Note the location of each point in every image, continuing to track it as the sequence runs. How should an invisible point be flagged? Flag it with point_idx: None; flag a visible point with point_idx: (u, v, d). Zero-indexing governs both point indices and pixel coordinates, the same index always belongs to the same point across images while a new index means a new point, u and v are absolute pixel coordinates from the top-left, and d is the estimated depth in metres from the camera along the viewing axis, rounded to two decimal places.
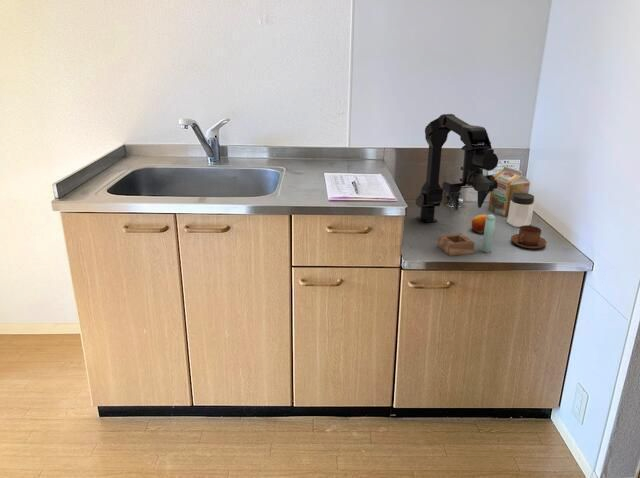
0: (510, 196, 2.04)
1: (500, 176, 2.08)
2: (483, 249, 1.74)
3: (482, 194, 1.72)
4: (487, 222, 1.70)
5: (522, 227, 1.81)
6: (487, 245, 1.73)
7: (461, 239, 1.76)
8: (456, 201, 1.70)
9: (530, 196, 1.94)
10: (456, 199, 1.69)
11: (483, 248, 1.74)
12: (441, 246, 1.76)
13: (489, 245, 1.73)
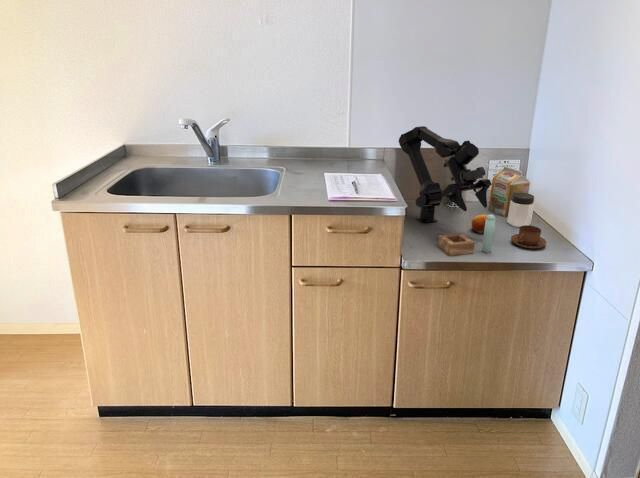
0: (510, 196, 2.04)
1: (500, 176, 2.08)
2: (483, 249, 1.74)
3: (482, 194, 1.79)
4: (487, 222, 1.70)
5: (522, 227, 1.81)
6: (487, 245, 1.73)
7: (461, 239, 1.76)
8: (461, 201, 1.74)
9: (530, 196, 1.94)
10: (460, 198, 1.74)
11: (483, 248, 1.74)
12: (441, 246, 1.76)
13: (489, 245, 1.73)
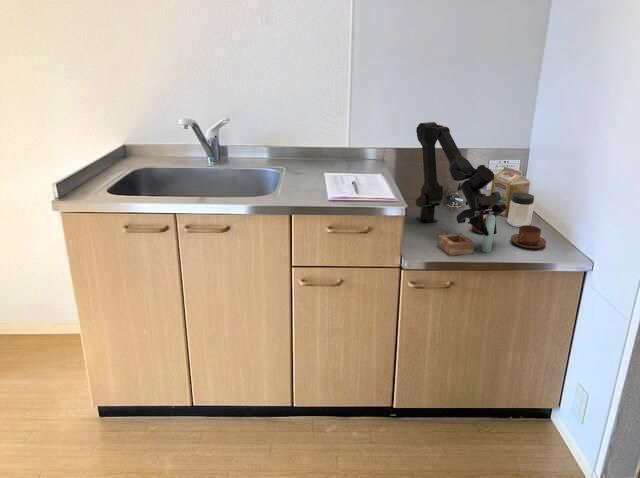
0: (510, 196, 2.04)
1: (500, 176, 2.08)
2: (483, 249, 1.74)
3: None
4: (487, 222, 1.70)
5: (521, 227, 1.82)
6: (487, 245, 1.73)
7: (461, 239, 1.76)
8: (483, 225, 1.71)
9: (530, 196, 1.94)
10: (482, 223, 1.71)
11: (483, 248, 1.74)
12: (441, 246, 1.76)
13: (489, 245, 1.73)
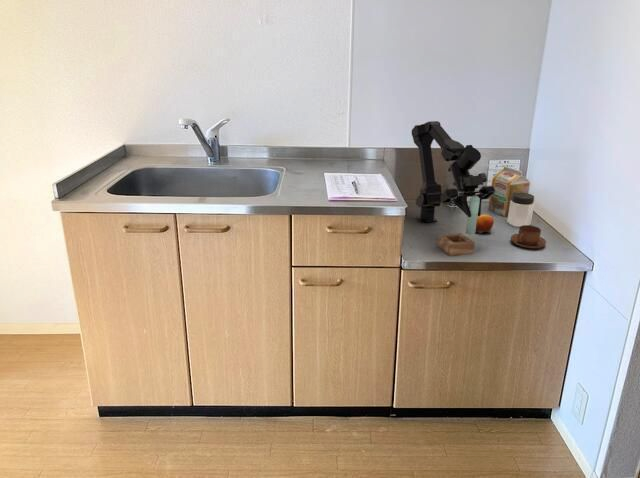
0: (510, 196, 2.04)
1: (500, 176, 2.08)
2: (466, 231, 1.72)
3: None
4: (470, 203, 1.68)
5: (521, 227, 1.82)
6: (470, 227, 1.71)
7: (461, 239, 1.76)
8: (466, 206, 1.69)
9: (530, 196, 1.94)
10: (465, 204, 1.69)
11: (466, 230, 1.72)
12: (441, 246, 1.76)
13: (472, 227, 1.71)
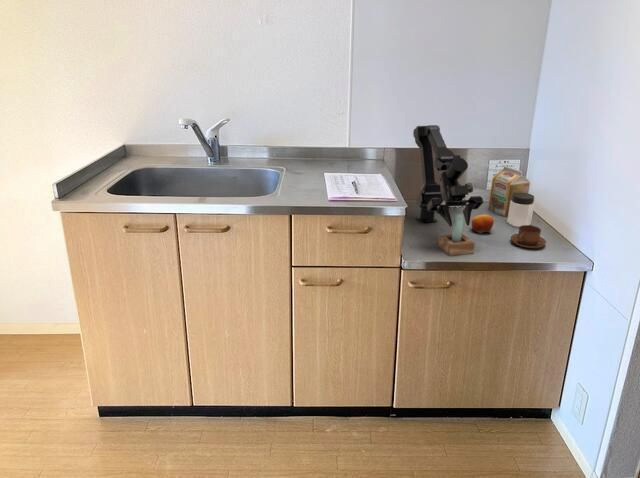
0: (510, 196, 2.04)
1: (500, 176, 2.08)
2: None
3: (466, 211, 1.73)
4: (454, 220, 1.72)
5: (521, 227, 1.82)
6: None
7: (461, 239, 1.76)
8: (447, 215, 1.71)
9: (530, 196, 1.94)
10: (447, 213, 1.71)
11: None
12: (441, 246, 1.76)
13: None
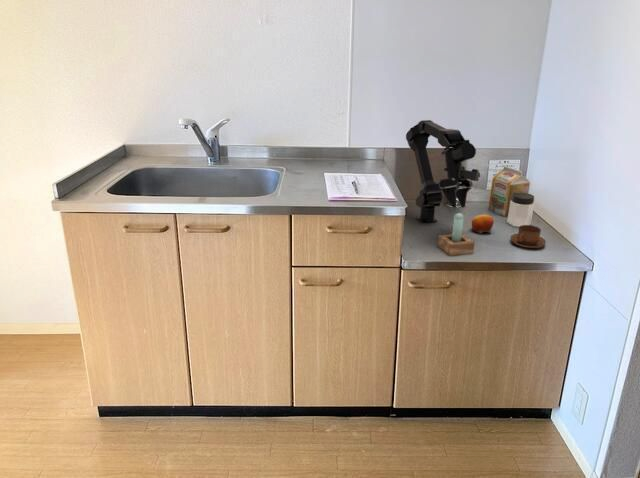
0: (510, 196, 2.04)
1: (500, 176, 2.08)
2: None
3: (463, 193, 1.83)
4: (454, 220, 1.72)
5: (521, 227, 1.82)
6: None
7: (461, 239, 1.76)
8: (455, 197, 1.74)
9: (530, 196, 1.94)
10: (455, 194, 1.74)
11: None
12: (441, 246, 1.76)
13: None
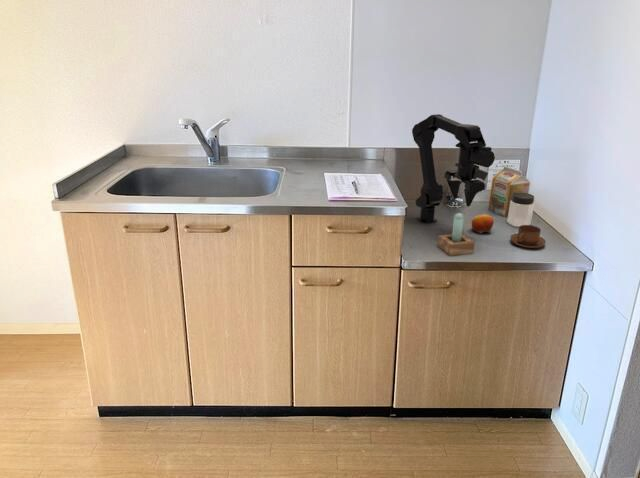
0: (510, 196, 2.04)
1: (500, 176, 2.08)
2: None
3: (457, 185, 1.86)
4: (454, 220, 1.72)
5: (521, 227, 1.82)
6: None
7: (461, 239, 1.76)
8: None
9: (530, 196, 1.94)
10: None
11: None
12: (441, 246, 1.76)
13: None
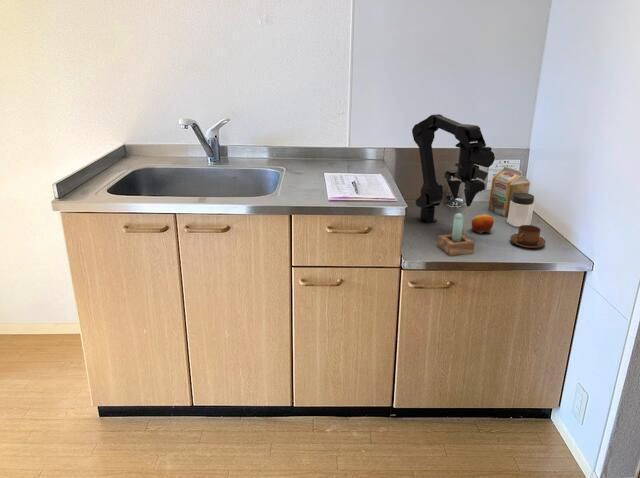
0: (510, 196, 2.04)
1: (500, 176, 2.08)
2: None
3: (457, 185, 1.86)
4: (454, 220, 1.72)
5: (521, 227, 1.82)
6: None
7: (461, 239, 1.76)
8: None
9: (530, 196, 1.94)
10: None
11: None
12: (441, 246, 1.76)
13: None
